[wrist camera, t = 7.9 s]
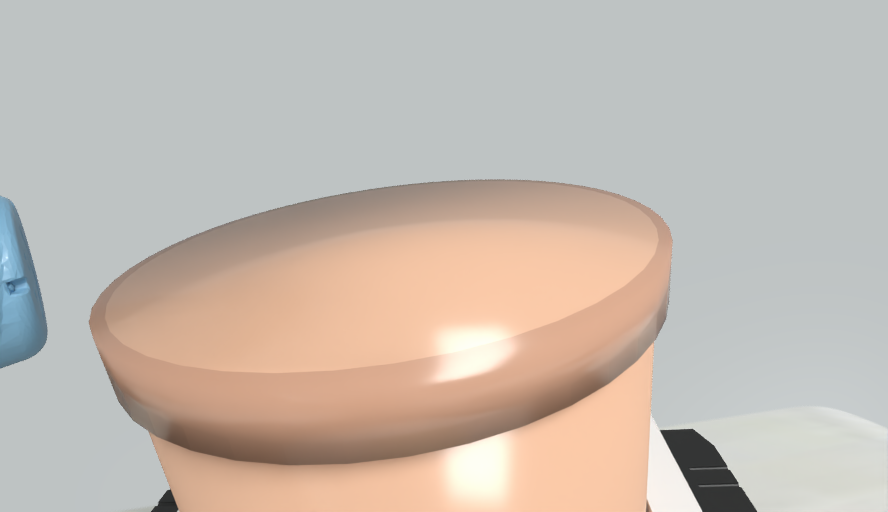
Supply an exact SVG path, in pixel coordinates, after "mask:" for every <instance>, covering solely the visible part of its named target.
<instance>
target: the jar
mask: <svg viewBox="0 0 888 512" xmlns="http://www.w3.org/2000/svg"><path fill="white" fill-rule="evenodd" d="M671 256H672V237H671V233H670V229H669V227H668V226H667V225H666V223H665V222H664V220H663V219H662V218H661V217H660V216H659V215H658V214H656V213H655V212H654V211H653V210H651V209H650V208H648V207H646V206H644V205H642V204H641V203H639V202H637V201H635V200H632V199H629V198H627V197H624V196H621V195H619V194H615V193H611V192H607V191H604V190H599V189H595V188H590V187H585V186H579V185H572V184H565V183H556V182H545V181H530V180H458V181H442V182H430V183H419V184H408V185H400V186H392V187H384V188H377V189H369V190H363V191H357V192H351V193H345V194H340V195H335V196H329V197H324V198H319V199H315V200H310V201H305V202H301V203H297V204H293V205H288V206H285V207H280V208H277V209H273V210H269V211H266V212H262V213H259V214H255V215H252V216H248V217H245V218H242V219H239V220H235V221H232V222H229V223H226V224H224V225H221V226H218V227H215V228H212V229H209V230H207V231H205V232H202V233H199V234H197V235H194V236H192V237H189V238H187V239H185V240H182V241H180V242H178V243H176V244H174V245H171V246H169V247H167V248H165V249H163V250H161V251H159V252H157V253H155V254H154V255H152V256H150V257H148V258H146V259H145V260H143V261H141V262H140V263H138V264H136V265H135V266H133V267H132V268H130V269H129V270H127V271H126V272H125V273H123V274H122V275H121V276H120V277H118V278H117V279H116V280H114V281H113V282H112V283H111V284H110V285H109V287H107V288H106V289H105V290H104V291H103V292H102V293H101V295H100V296H99V298H98V299H97V301H96V303H95V304H94V306H93V307H92V311H91V316H90V320H89V325H90V329H91V332H92V335H93V339H94V341H95V344H96V346H97V349H98V351H99V354H100V356H101V359H102V361H103V363H104V366H105V368H106V371H107V374H108V376H109V379H110V381H111V384H112V386H113V389H114V391H115V394H116V396H117V399H118V401H119V403H120V404H121V406H122V407H123V408H124V409H125V411H126V412H127V413H128V414H129V416H130V417H131V418H132V420H133V421H135V422H136V423H138V424H139V425H140V426H142V427H143V428H145V429H146V430H148V431H149V434H150V436H151V439H152V442H153V444H154V447H155V449H156V452H157V455H158V457H159V460H160V462H161V465H162V468H163V470H164V473H165V475H166V478H167V481H168V483H169V486H170V488H171V491H172V494H173V496H174V499H175V501H176V504H177V506H178V509H179V512H646V502H647V480H648V459H649V438H650V416H651V395H652V373H653V351H654V341H655V340H656V338H657V336H658V334H659V332H660V330H661V328H662V326H663V324H664V322H665V320H666V316H667V309H668V304H669V291H670V274H671V273H670V272H671Z"/></svg>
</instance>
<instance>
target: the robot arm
mask: <svg viewBox="0 0 888 512" xmlns="http://www.w3.org/2000/svg"><path fill="white" fill-rule="evenodd" d="M46 340H47V323H46V317H45V311H44V307H43V301H42V297H41V292H40V288H39V283H38V280H37V275H36V271H35V268H34V264H33V260H32V257H31V253H30V249H29V246H28V242H27V239H26V236H25V233H24V229H23V226H22V223H21V220H20V218H19V215H18V213H17V210H16V208H15V206H14V204H13V203H12V202H11V201H10V200H9V199H7V198H5V197H2V196H0V368H3V367H6V366H9V365H11V364H14V363H17V362H20V361H23V360H26V359H28V358H30V357H32V356H34V355H36V354H37V353H38V352H39V351H40V350H41V349H42V348H43V346H44V345H45V343H46ZM151 512H179V509H178V506H177V504H176V501H175V499H174V496H173V494H172V491H171V488H170V490H167V491H166V493H165V494H164V495H163V497H162V498H161V499H160V501H159V504H158V506H155V507H154V509H153V510H152V511H151ZM646 512H757V511H756V509H755V508H754V506H753V504H752V503H751V501H750V500H749V498H748V497H747V495H746V494H745V492H744V491H743V489H742V488H741V487H739V485H738V482H737V480H736V479H735V477H734V475H733V474H732V472H731V471H730V470H728V468H727V465H726V463H725V462H724V460H723V459H722V457H721V456H720V454H719V453H718V451H717V450H716V448H715V446H714V445H712V444H711V443H710V442H709V441H707V440H706V439H705V438H704V437H702V436H701V435H700V434H699V433H697V432H696V431H695V430H693V429H681V430H659V428H658V426H657V425H656V423H655V421H654V419H653V417H652V415H651V416H650V438H649V459H648V480H647V502H646Z"/></svg>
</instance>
